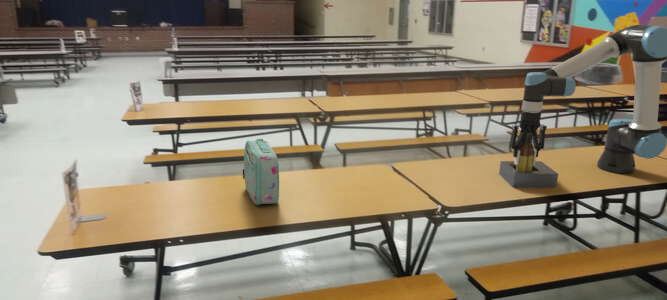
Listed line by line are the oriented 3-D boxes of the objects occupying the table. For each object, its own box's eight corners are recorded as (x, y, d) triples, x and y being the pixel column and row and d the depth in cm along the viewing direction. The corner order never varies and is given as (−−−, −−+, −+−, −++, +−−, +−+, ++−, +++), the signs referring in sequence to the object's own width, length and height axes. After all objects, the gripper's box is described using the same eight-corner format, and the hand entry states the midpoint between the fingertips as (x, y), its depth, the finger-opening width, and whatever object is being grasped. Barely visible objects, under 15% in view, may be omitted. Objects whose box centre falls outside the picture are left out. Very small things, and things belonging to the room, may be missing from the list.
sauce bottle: (528, 175, 202) (534, 130, 196) (532, 180, 196) (539, 134, 191) (512, 174, 203) (518, 130, 197) (516, 179, 197) (522, 134, 191)
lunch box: (241, 185, 192) (239, 135, 186) (266, 182, 196) (264, 132, 189) (254, 211, 168) (252, 154, 162) (282, 207, 172) (281, 151, 165)
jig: (539, 174, 208) (541, 161, 206) (556, 187, 193) (558, 173, 191) (499, 173, 208) (500, 161, 206) (512, 187, 192) (514, 173, 191)
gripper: (550, 108, 195) (542, 161, 202) (504, 108, 195) (498, 161, 201) (559, 112, 188) (550, 167, 195) (511, 112, 187) (505, 167, 194)
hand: (524, 164), depth 198 cm, fingers closed on sauce bottle, 6 cm apart
